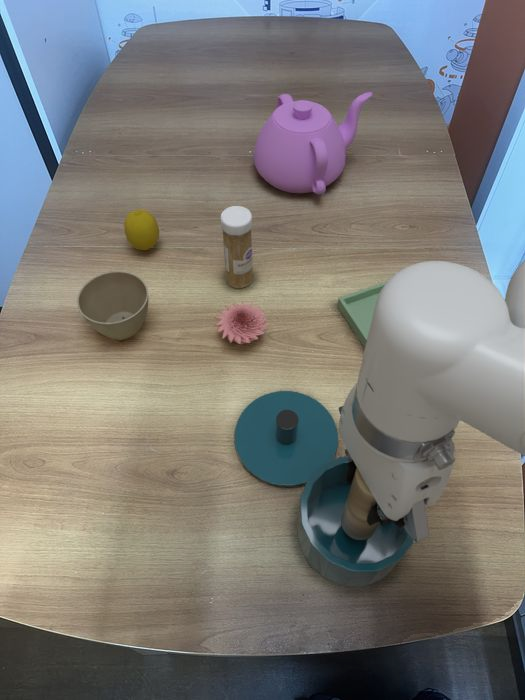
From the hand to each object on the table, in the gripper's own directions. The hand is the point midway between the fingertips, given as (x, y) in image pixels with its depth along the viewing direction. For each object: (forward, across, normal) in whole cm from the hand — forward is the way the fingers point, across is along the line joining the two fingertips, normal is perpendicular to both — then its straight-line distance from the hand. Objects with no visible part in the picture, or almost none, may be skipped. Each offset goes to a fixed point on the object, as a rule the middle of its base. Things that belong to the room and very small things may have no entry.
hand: (369, 495), depth 54 cm
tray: (+12, +24, -20) cm, 34 cm away
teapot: (+12, +64, -26) cm, 70 cm away
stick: (+9, 0, 0) cm, 9 cm away
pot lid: (+12, +14, +2) cm, 19 cm away
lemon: (+12, +56, +10) cm, 58 cm away
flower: (+12, +32, +2) cm, 35 cm away
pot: (+12, 0, 0) cm, 13 cm away
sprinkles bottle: (+12, +43, -3) cm, 45 cm away
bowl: (+12, +41, +17) cm, 46 cm away
